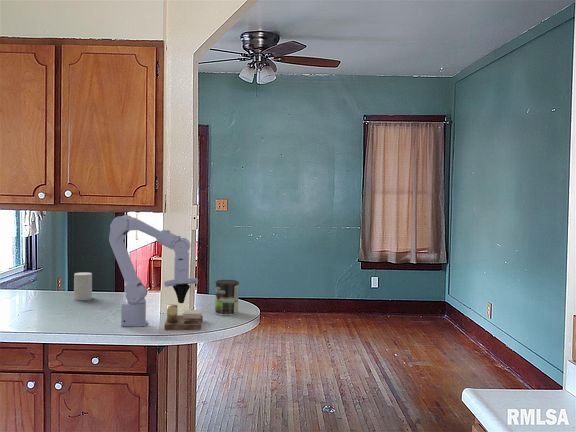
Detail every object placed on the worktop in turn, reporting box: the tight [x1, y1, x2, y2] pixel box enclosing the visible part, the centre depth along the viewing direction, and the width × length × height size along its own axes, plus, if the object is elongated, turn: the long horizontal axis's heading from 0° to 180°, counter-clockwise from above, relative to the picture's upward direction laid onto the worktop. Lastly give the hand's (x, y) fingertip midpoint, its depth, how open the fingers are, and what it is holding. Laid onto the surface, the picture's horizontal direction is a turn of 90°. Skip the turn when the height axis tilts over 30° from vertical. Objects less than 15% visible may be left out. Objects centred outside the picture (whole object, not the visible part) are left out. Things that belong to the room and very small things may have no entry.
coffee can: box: [214, 279, 240, 317], centre depth 270 cm, size 10×10×14 cm
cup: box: [73, 272, 93, 301], centre depth 295 cm, size 8×8×12 cm
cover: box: [182, 309, 202, 319], centre depth 253 cm, size 7×7×2 cm
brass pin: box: [166, 304, 178, 323], centre depth 244 cm, size 4×4×6 cm
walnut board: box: [163, 314, 203, 331], centre depth 248 cm, size 14×16×2 cm
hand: (181, 302), depth 246 cm, fingers closed
